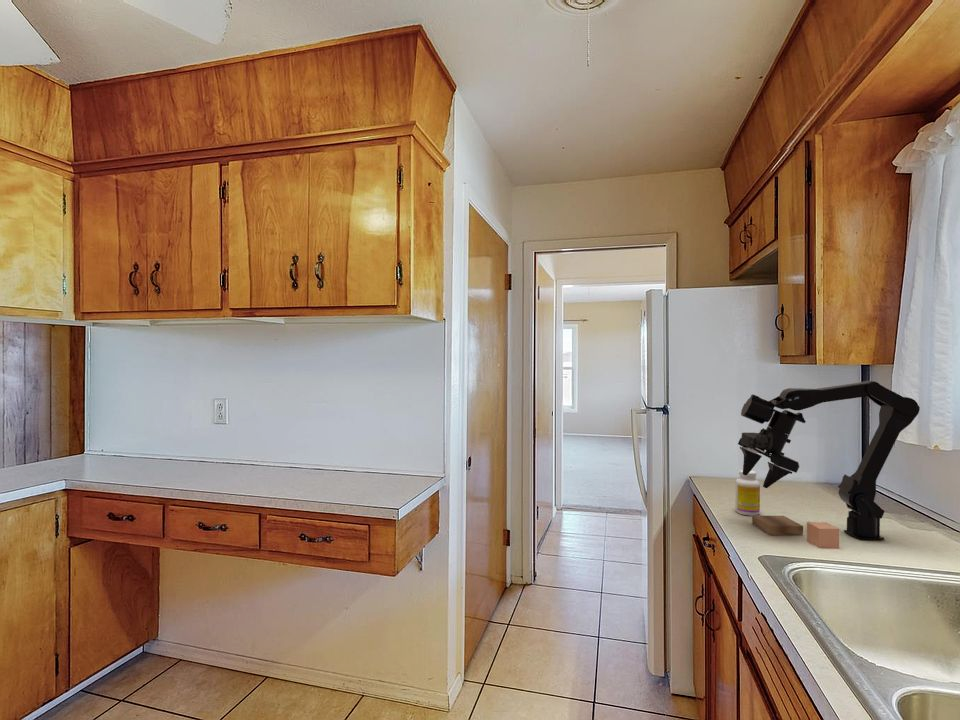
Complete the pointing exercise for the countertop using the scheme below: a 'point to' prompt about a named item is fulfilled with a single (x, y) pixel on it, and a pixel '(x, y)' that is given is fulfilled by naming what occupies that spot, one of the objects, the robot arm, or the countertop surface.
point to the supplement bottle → (747, 494)
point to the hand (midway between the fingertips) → (754, 481)
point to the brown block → (777, 525)
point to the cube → (823, 534)
